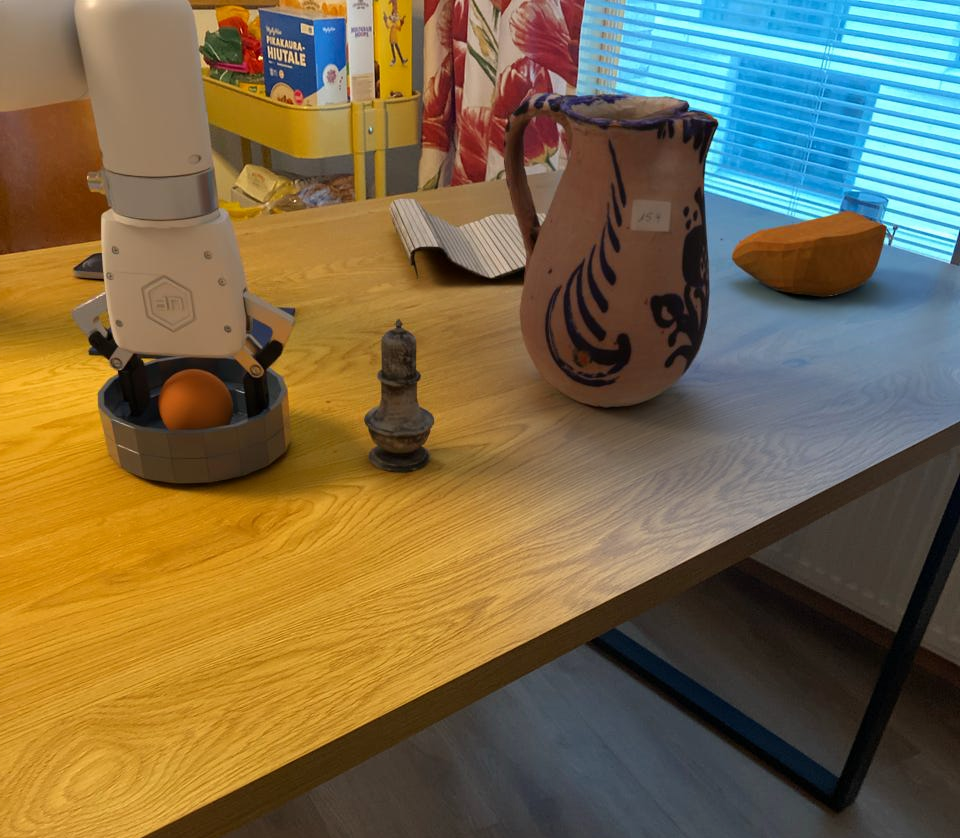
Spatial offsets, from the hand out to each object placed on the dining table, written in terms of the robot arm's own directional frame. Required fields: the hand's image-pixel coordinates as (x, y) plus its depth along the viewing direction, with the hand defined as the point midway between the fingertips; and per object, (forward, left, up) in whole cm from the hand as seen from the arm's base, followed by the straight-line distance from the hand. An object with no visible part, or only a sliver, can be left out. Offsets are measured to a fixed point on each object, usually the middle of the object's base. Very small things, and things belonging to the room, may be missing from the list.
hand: (199, 413), depth 78 cm
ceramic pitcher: (+34, +17, -3) cm, 38 cm away
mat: (+23, +57, -3) cm, 62 cm away
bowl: (0, 0, -3) cm, 3 cm away
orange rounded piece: (0, 0, 0) cm, 1 cm away
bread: (+64, +53, -3) cm, 83 cm away
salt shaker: (+17, 0, -3) cm, 17 cm away
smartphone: (-18, +42, -3) cm, 46 cm away
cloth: (-7, +25, -3) cm, 26 cm away
